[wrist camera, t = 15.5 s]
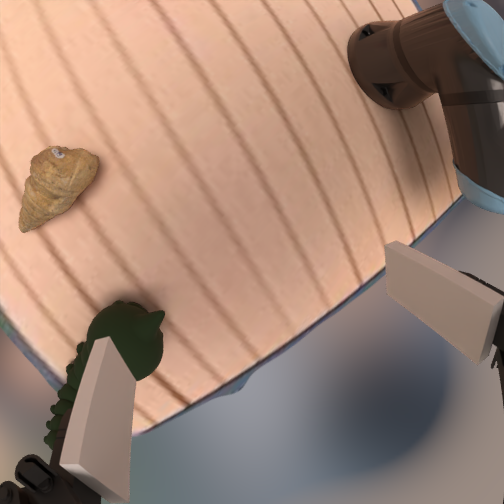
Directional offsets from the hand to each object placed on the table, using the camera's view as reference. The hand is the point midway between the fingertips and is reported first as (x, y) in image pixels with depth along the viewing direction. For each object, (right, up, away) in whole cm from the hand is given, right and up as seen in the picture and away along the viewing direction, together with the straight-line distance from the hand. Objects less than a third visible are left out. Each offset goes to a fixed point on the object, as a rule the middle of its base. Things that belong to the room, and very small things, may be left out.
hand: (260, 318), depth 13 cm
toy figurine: (-21, -10, +25) cm, 34 cm away
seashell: (-24, +11, +18) cm, 32 cm away
